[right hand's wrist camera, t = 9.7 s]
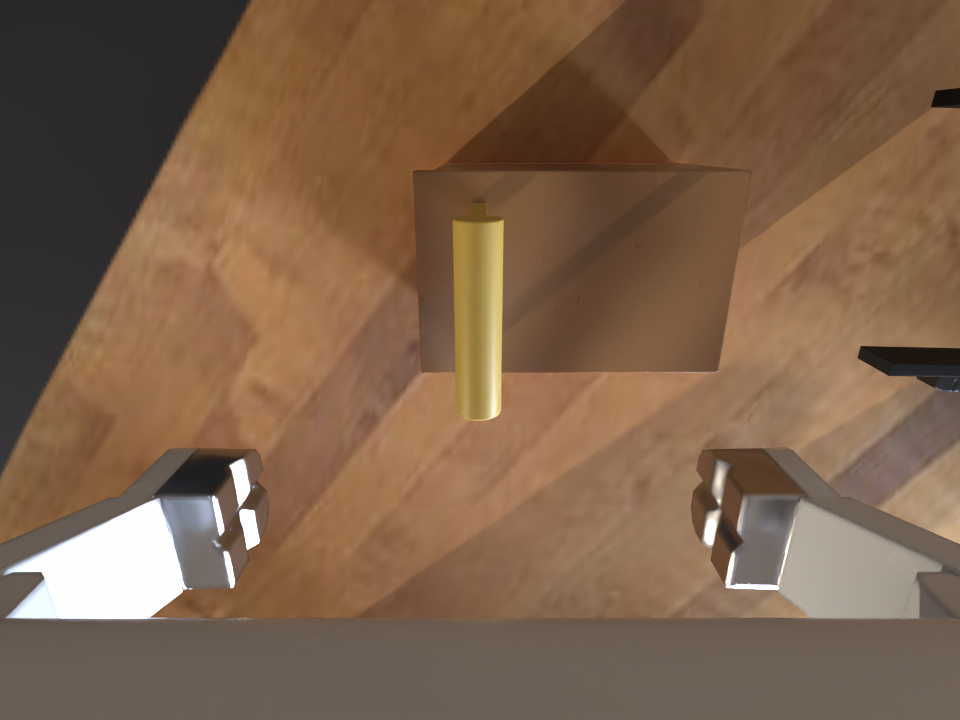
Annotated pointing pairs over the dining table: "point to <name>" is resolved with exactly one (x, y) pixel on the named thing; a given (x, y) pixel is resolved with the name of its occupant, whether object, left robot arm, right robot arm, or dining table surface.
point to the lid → (573, 273)
